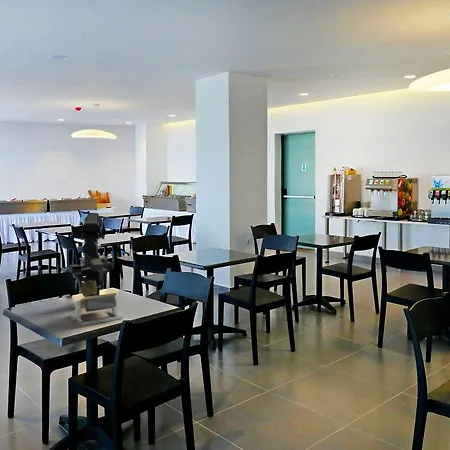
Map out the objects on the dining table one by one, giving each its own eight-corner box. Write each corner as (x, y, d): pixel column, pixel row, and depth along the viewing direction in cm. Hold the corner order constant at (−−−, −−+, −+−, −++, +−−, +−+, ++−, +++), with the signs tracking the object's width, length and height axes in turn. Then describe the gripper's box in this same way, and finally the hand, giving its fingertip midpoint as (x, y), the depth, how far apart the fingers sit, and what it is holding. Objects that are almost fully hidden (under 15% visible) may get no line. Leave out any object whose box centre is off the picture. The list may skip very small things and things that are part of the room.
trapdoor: (74, 317, 220) (71, 305, 221) (104, 313, 228) (102, 301, 230) (87, 310, 208) (84, 297, 209) (118, 305, 216) (116, 292, 217)
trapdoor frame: (71, 317, 217) (71, 298, 216) (110, 311, 228) (110, 293, 227) (82, 325, 207) (82, 305, 206) (122, 318, 218) (123, 299, 217)
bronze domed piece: (90, 296, 217) (86, 279, 220) (79, 303, 220) (75, 286, 223) (103, 296, 223) (99, 279, 226) (92, 303, 227) (88, 287, 229)
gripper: (77, 255, 208) (77, 293, 209) (119, 252, 219) (119, 287, 221) (67, 252, 216) (67, 287, 218) (108, 248, 228) (108, 283, 229)
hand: (91, 286), depth 221 cm, fingers open, 9 cm apart
